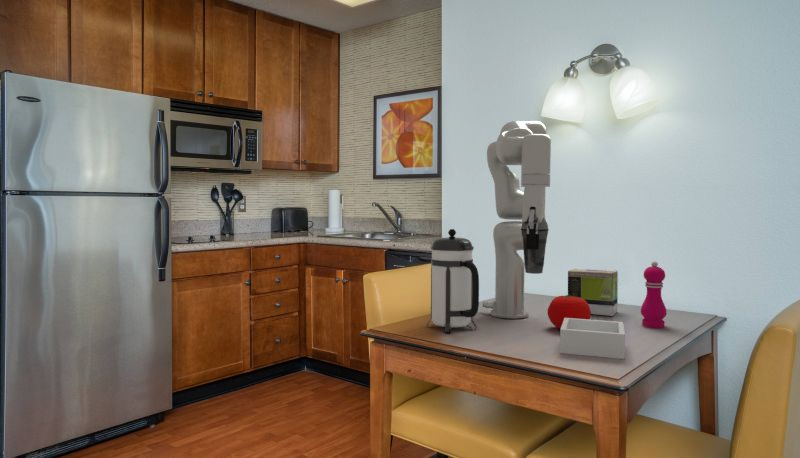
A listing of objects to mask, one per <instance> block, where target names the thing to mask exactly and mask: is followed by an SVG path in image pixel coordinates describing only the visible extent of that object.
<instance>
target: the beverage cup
mask: <svg viewBox="0 0 800 458" xmlns="http://www.w3.org/2000/svg"><path fill="white" fill-rule="evenodd" d="M527 220H528V219H527ZM534 222H537V221H534ZM524 223H525V224H524ZM524 223H522V228H521V230H522V237H523V249H524V250H523V261H524V266H525V268H524V273H527V274H533V275H535V274H543V273H544V272H543V271H544V267H545V266H544V265H545V256H546V247H547V246H546V245H547V242H546V238H547V239H548V234H549V231H550V230H549V224H548V222H547V221H546V218H545V219H544V218H543V219H542V223H540V224H539V227H538V234H539V249H538V250H531V249H526V234H527V225H528V221H527V222H524Z"/></svg>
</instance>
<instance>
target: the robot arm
mask: <svg viewBox="0 0 800 458" xmlns="http://www.w3.org/2000/svg"><path fill="white" fill-rule="evenodd" d="M551 144H552V140H551V137H550V136H549V135H548V133H547V129H546V126H545V124H544V123H542V121H538V120H529V121H528V120H525V121H524V120H515V121H509V122H506V123H505V124H504V125H503V126H502V127H501V129H500V133H499V135H498V137H497V139H496V141H493V142H491V143H489V144H488V146H487V149H486V160H487V165H488V168H489V173H490V175H491V177H492V180H493V182H494V196H495V197H494V198H495V199H494V200H495V211H496V214H497V217H498V218H499V219H503V220H508V221H500V222H499V223H497V224H496V225H495V226H494V227H493V230H492V231H493V235H492V237H493V243H494V244H493V245H494V253H495V286H494V287H495V288H494V292H495V297H494V298H495V300H493V301H491V302H489V301H482V307H483V308H484V309H491V310H490V315H491V316H493V317H495V318H499V319H525V318H527V317H529V316H530V313H529V311H527V310H525V264H524V258H522V257H521V256H520V255H519V253H518V252H517V251H524V249H523V237H522V230H521V228H522V223H524V222H527V221H528V225H527V234H526V249H531V250H538V249H539V234H538V227H539V224H540V223H542V219H543V218H544V219H545V220H546V188H550V187H551V159H552V158H551V156H552V155H551V154H552V153H551V152H552V145H551ZM508 166H521V169H520V170H521V172H520V173H521V174H520V179H519V177H518V176H517V174H516V173H515V172H514V171H513V170H512V169H511V168H510V167H508ZM521 188H524V189H523V191H521ZM527 219H528V220H527ZM509 220H511V221H509ZM513 220H514V221H513ZM517 220H518V221H517ZM520 220H521V221H520ZM534 221H537V222H534ZM524 224H525V223H524ZM547 240H548V237H547V238H546V243H548V242H547Z"/></svg>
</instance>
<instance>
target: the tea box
mask: <svg viewBox="0 0 800 458" xmlns="http://www.w3.org/2000/svg"><path fill="white" fill-rule="evenodd" d="M618 274H619V273H618V270H616V269H611V270H610V269H598V268H597V269H596V268H595V269H592V268H572V269H570V270H568V271H567V295H568V294H569V295H570V296H574V297H576V296H577V297H579V298H582V299H584V300H585V301H586V302H587V303H588V305H589V307H590V310H591V315H598V316H608V317H609V316H610V317H614V315H616V313H617V312H618V295H619V294H618V291H619V290H618V289H619V288H618V282H619V281H618V277H619V275H618Z"/></svg>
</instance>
